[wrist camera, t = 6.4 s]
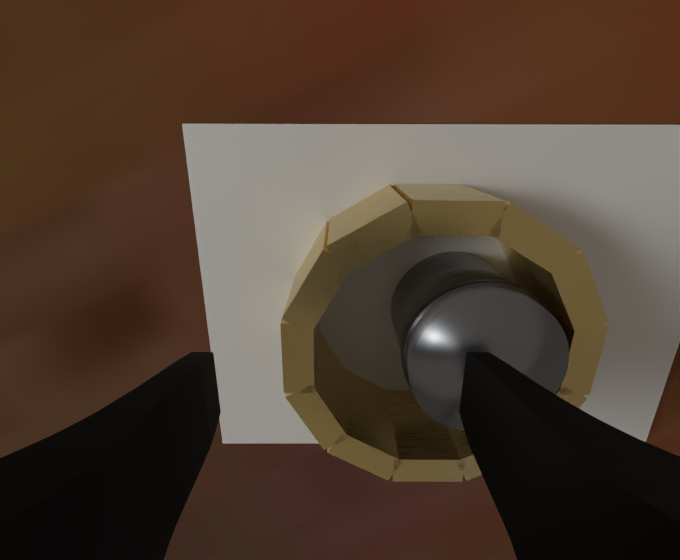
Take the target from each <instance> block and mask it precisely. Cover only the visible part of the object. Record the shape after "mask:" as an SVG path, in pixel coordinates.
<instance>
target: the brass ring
mask: <svg viewBox="0 0 680 560" xmlns="http://www.w3.org/2000/svg"><path fill="white" fill-rule="evenodd" d="M416 236H447V237H494V238H496V239H497V240H499V242H500V244H501V246H502V249H503V251H504V253H505V255H506V258H507V260H508V262H509V265H510V267H511V269H512V272H513V274H514V276H515V278H516V281H517V283H518V286H520V287H522V288H524V289H526V290H528V291H529V292H530V293H532V294H533V295H535V296H536V297H537V298H538V299H539V300H540V301H541V302H542V303H543V304H545V306H546V307H547V308H548V310H549V311H550V312H551V314H552V315H553V316H554V317H555V318H556V320H557V321H558V322H559V324H560V325H561V327H562V329H563V331H564V332H565V335H566V338H567V341H568V347H569V363H568V369H567V372H566V375H565V378H564V380H563V382H562V384H561V386H560V388H559V390H558V391H557V393H556V394H555V395H557V396H559V397H560V398H562V399H564V400H565V401H567V402H569V403H570V404H572V405H574V406H576V407H577V408H579V407H580V406H581V405H582V404H583V403H584V402H585V401H586V400H587V398H586V397H585V396H584V395H590V392H591V389H592V385H593V381H594V378H595V374H596V370H597V367H598V363H599V359H600V356H601V352H602V348H603V345H604V341H605V337H606V334H607V330H608V325H606V324H605V322H608V318H607V316H606V313H605V310H604V307H603V305H602V302H601V299H600V296H599V294H598V291H597V288H596V285H595V283H594V280H593V277H592V274H591V272H590V269H589V266H588V263H587V261H586V258H585V255H584V252H582V251H580V250H579V249H580V247H578V246H577V245H575V244H573V243H572V242H570V241H569V240H567V239H566V238H564V237H563V236H561V235H560V234H558V233H557V232H555V231H554V230H552V229H550V228H549V227H547V226H546V225H544V224H543V223H541V222H540V221H538V220H537V219H535V218H534V217H532V216H531V215H529V214H527V213H526V212H524V211H523V210H521V209H520V208H518V207H517V206H515V205H514V204H512V203H510V202H508V201H505V200H503V199H500V198H497V197H495V196H492V195H489V194H487V193H484V192H482V191H479V190H476V189H474V188H471V187H468V186H465V185H462V184H393V188H392V187H391V186H390V185H388V186H386V187H384V188H382V189H380V190H379V191H377V192H375V193H373V194H372V195H370V196H368V197H366V198H365V199H363V200H361V201H359V202H357V203H356V204H354V205H352V206H350V207H349V208H347V209H345V210H343V211H342V212H340V213H338V214H336V215H334V216H333V217H331V218H330V222H326V223H325V225H324V227H323V228H322V230H321V232H320V234H319V235H318V237H317V239H316V240H315V242H314V244H313V245H312V247H311V249H310V251H309V252H308V254H307V256H306V257H305V259H304V261H303V263H302V264H301V266H300V268H299V269H298V271H297V273H296V275H295V278H294V281H293V284H292V287H291V290H290V294H289V297H288V300H287V303H286V306H285V310H284V313H283V316H282V320H281V323H280V326H281V348H282V369H283V390H284V393H286V396H285V398H286V399H287V400H288V402H289V403H290V404H291V406H292V407H293V409H294V410H295V411H296V413H297V414H298V415H299V417H300V418H301V419H302V421H303V422H304V424H305V425H306V426H307V428H308V429H309V430H310V432H311V433H312V434H313V436H314V437H315V439H316V440H317V441H318V443H319V444H320V445H321V447H322V448H323V449H324V450H325V449H327V448H328V449H327V453H329V454H331V455H334V456H336V457H338V458H340V459H342V460H344V461H347V462H349V463H351V464H353V465H355V466H358V467H360V468H362V469H364V470H366V471H368V472H371V473H373V474H375V475H377V476H379V477H381V478H384V479H386V480H389V478H390V477H391V476H392V481H420V482H462V478H463V475H464V477H465V479H466V480H470V479H472V478H475V477H477V476H480V475H482V473H481V471H480V469H479V467H478V464H477V462H476V460H475V458H474V455H473V453H472V451H471V449H470V446H469V444H468V441H467V437H466V434H465V431H461V430H457V429H453V428H450V427H448V426H445V425H443V424H441V423H439V422H438V421H436V420H434V419H433V418H432V417H431V416H429V415H428V414H427V413H426V412H425V411H424V410H423V409H422V408H421V406H420V405H419V403H418V402H417V400H416V398H415V396H414V394H413V392H412V390H385V389H383V388H381V387H379V386H377V385H375V384H373V383H371V382H369V381H367V380H365V379H363V378H361V377H359V376H357V375H355V374H353V373H351V372H349V371H347V370H345V369H344V367H343V366H342V364H341V363H340V361H339V360H338V358H337V357H336V355H335V353H334V352H333V350H332V349H331V347H330V346H329V344H328V343H327V341H326V340H325V338H324V337H323V335H322V334H321V332H320V318H321V317H322V315H323V313H324V312H325V310H326V309H327V307H328V305H329V304H330V302H331V301H332V299H333V298H334V296H335V294H336V293H337V291H338V290H339V288H340V287H341V285H342V283H343V282H344V280H345V279H346V277H347V275H348V274H349V272H351V271H352V270H354V269H356V268H358V267H360V266H362V265H364V264H366V263H367V262H369V261H371V260H373V259H375V258H377V257H379V256H381V255H382V254H384V253H386V252H388V251H390V250H392V249H394V248H396V247H398V246H399V245H401V244H403V243H405V242H407V241H409V240H411V239H413V238H414V237H416Z"/></svg>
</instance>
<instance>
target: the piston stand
mask: <svg viewBox="0 0 680 560" xmlns="http://www.w3.org/2000/svg"><path fill="white" fill-rule="evenodd" d="M182 128H183V136H184V143H185V151H186V159H187V167H188V175H189V183H190V190H191V198H192V206H193V214H194V222H195V230H196V238H197V245H198V253H199V261H200V269H201V277H202V285H203V293H204V300H205V308H206V316H207V324H208V332H209V340H210V347H211V352H213V354H214V362H215V370H216V378H217V386H218V394H219V402H220V410H221V413H220V416H219V418H220V426H221V434H222V442H223V443H318V441H317V440H316V439H315V437H314V436H313V434H312V433H311V432H310V430H309V429H308V428H307V426H306V425H305V424H304V422H303V421H302V419H301V418H300V417H299V415H298V414H297V413H296V411H295V410H294V409H293V407H292V406H291V404H290V403H289V402H288V400H287V399H286V398H285V396H286V393H284V390H283V369H282V348H281V326H280V323H281V320H282V316H283V313H284V310H285V306H286V303H287V300H288V297H289V294H290V290H291V287H292V284H293V281H294V278H295V275H296V273H297V271H298V269H299V268H300V266H301V264H302V263H303V261H304V259H305V257H306V256H307V254H308V252H309V251H310V249H311V247H312V245H313V244H314V242H315V240H316V239H317V237H318V235H319V234H320V232H321V230H322V228H323V227H324V225H325V223H326V222H330V218H331V217H333V216H334V215H336V214H338V213H340V212H342V211H343V210H345V209H347V208H349V207H350V206H352V205H354V204H356V203H357V202H359V201H361V200H363V199H365V198H366V197H368V196H370V195H372V194H373V193H375V192H377V191H379V190H380V189H382V188H384V187H386V186H388V185H390V186H391V187H392V188H393V184H462V185H465V186H468V187H471V188H474V189H476V190H479V191H482V192H484V193H487V194H489V195H492V196H495V197H497V198H500V199H503V200H505V201H508V202H510V203H512V204H514V205H515V206H517V207H518V208H520V209H521V210H523V211H524V212H526V213H527V214H529V215H531V216H532V217H534V218H535V219H537V220H538V221H540V222H541V223H543V224H544V225H546V226H547V227H549V228H550V229H552V230H554V231H555V232H557V233H558V234H560V235H561V236H563V237H564V238H566V239H567V240H569V241H570V242H572V243H573V244H575V245H577V246H578V247H580V249H579V250H580V251H582V252H584V255H585V258H586V261H587V263H588V266H589V269H590V272H591V274H592V277H593V280H594V283H595V285H596V288H597V291H598V294H599V296H600V299H601V302H602V305H603V307H604V310H605V313H606V316H607V318H608V322H605V324H606V325H608V330H607V334H606V337H605V341H604V345H603V348H602V352H601V356H600V359H599V363H598V367H597V370H596V374H595V378H594V381H593V385H592V389H591V392H590V395H584V396H585V397H586V398H587V400H586V401H585V402H584V403H583V404H582V405H581V406H580V407H579V409H581V410H583V411H584V412H586V413H588V414H590V415H592V416H593V417H595V418H597V419H599V420H601V421H603V422H605V423H607V424H609V425H611V426H613V427H615V428H617V429H619V430H621V431H623V432H625V433H627V434H629V435H631V436H633V437H635V438H637V439H640V440H642V441H644V442H646V440H647V437H648V434H649V431H650V428H651V425H652V422H653V419H654V416H655V413H656V410H657V407H658V405H659V402H660V399H661V396H662V393H663V390H664V387H665V384H666V381H667V378H668V375H669V372H670V369H671V366H672V363H673V360H674V357H675V355H676V352H677V349H678V346H679V343H680V125H507V124H182ZM320 332H321V334H322V335H323V337H324V338H325V340H326V341H327V343H328V344H329V346H330V347H331V349H332V350H333V352H334V353H335V355H336V357H337V358H338V360H339V361H340V363H341V364H342V366H343V367H344V369H345V370H347V371H349V372H351V373H353V374H355V375H357V376H359V377H361V378H363V379H365V380H367V381H369V382H371V383H373V384H375V385H377V386H379V387H381V388H383V389H385V390H412V392H413V394H414V396H415V398H416V400H417V402H418V403H419V405H420V406H421V408H422V409H423V410H424V411H425V412H426V413H427V414H428V415H429V416H431V417H432V418H433V419H434V420H436V421H438V422H439V423H441V424H443V425H445V426H448V427H450V428H453V429H457V430H461V431H464V428H463V424H462V420H461V417H460V413H459V408H460V400H461V393H462V385H463V377H464V369H465V362H466V354H467V352H489V353H491V354H493V355H494V356H496V357H498V358H499V359H501V360H503V361H504V362H506V363H507V364H509V365H510V366H512V367H513V368H515V369H517V370H518V371H520V372H521V373H523V374H524V375H526V376H527V377H529V378H530V379H532V380H533V381H535V382H536V383H538V384H539V385H541V386H543V387H544V388H546V389H547V390H549V391H551V392H552V393H554V394H556V393H557V391H558V390H559V388H560V386H561V384H562V382H563V380H564V378H565V375H566V372H567V369H568V363H569V347H568V341H567V338H566V335H565V332H564V331H563V329H562V327H561V325H560V324H559V322H558V321H557V320H556V318H555V317H554V316H553V315H552V314H551V312H550V311H549V310H548V308H547V307H546V306H545V304H543V303H542V302H541V301H540V300H539V299H538V298H537V297H536V296H535V295H533V294H532V293H530V292H529V291H528V290H526V289H524V288H522V287H520V286H518V283H517V281H516V278H515V276H514V274H513V272H512V269H511V267H510V265H509V262H508V260H507V258H506V255H505V253H504V251H503V249H502V246H501V244H500V242H499V240H497V239H496V238H494V237H447V236H416V237H414V238H413V239H411V240H409V241H407V242H405V243H403V244H401V245H399V246H398V247H396V248H394V249H392V250H390V251H388V252H386V253H384V254H382V255H381V256H379V257H377V258H375V259H373V260H371V261H369V262H367V263H366V264H364V265H362V266H360V267H358V268H356V269H354V270H352V271H351V272H349V274H348V275H347V277H346V279H345V280H344V282H343V283H342V285H341V287H340V288H339V290H338V291H337V293H336V294H335V296H334V298H333V299H332V301H331V302H330V304H329V305H328V307H327V309H326V310H325V312H324V313H323V315H322V317H321V318H320Z"/></svg>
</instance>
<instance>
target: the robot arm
mask: <svg viewBox="0 0 680 560" xmlns="http://www.w3.org/2000/svg"><path fill="white" fill-rule="evenodd" d="M220 413H221V410H220V402H219V394H218V386H217V378H216V370H215V362H214V354H213V352H191V353H189V354H188V355H186V356H184V357H183V358H181V359H179V360H178V361H176V362H175V363H173V364H172V365H170V366H169V367H167V368H166V369H164V370H163V371H161V372H160V373H158V374H157V375H155V376H154V377H152V378H151V379H149V380H148V381H146V382H145V383H143V384H142V385H140V386H139V387H137V388H135V389H134V390H132V391H131V392H129V393H127V394H126V395H124V396H122V397H121V398H119V399H117V400H116V401H114V402H112V403H111V404H109V405H108V406H106V407H104V408H103V409H101V410H99V411H97V412H96V413H94V414H92V415H90V416H89V417H87V418H85V419H83V420H81V421H79V422H77V423H75V424H73V425H72V426H70V427H68V428H66V429H64V430H62V431H60V432H58V433H56V434H54V435H52V436H50V437H47V438H45V439H43V440H41V441H39V442H36V443H34V444H32V445H29V446H27V447H25V448H23V449H20V450H18V451H16V452H14V453H11V454H9V455H7V456H4V457H2V458H0V560H164V557H165V554H166V551H167V548H168V545H169V542H170V539H171V537H172V534H173V532H174V529H175V527H176V524H177V522H178V519H179V517H180V515H181V513H182V510H183V508H184V506H185V504H186V501H187V499H188V497H189V495H190V492H191V490H192V488H193V485H194V483H195V481H196V479H197V476H198V474H199V472H200V470H201V467H202V465H203V463H204V460H205V458H206V456H207V454H208V451H209V449H210V446H211V444H212V441H213V437H214V434H215V431H216V427H217V424H218V420H219V416H220ZM459 413H460V417H461V420H462V424H463V428H464V431H465V434H466V437H467V441H468V444H469V446H470V449H471V451H472V453H473V455H474V458H475V460H476V462H477V464H478V467H479V469H480V471H481V473H482V476H483V478H484V480H485V482H486V485H487V487H488V489H489V491H490V493H491V496H492V498H493V500H494V502H495V504H496V507H497V509H498V511H499V513H500V516H501V518H502V520H503V522H504V525H505V527H506V530H507V532H508V535H509V537H510V540H511V542H512V545H513V548H514V551H515V554H516V557H517V560H680V457H679V456H677V455H674V454H672V453H669V452H667V451H665V450H662V449H660V448H658V447H655V446H653V445H651V444H648V443H646V442H644V441H642V440H640V439H637V438H635V437H633V436H631V435H629V434H627V433H625V432H623V431H621V430H619V429H617V428H615V427H613V426H611V425H609V424H607V423H605V422H603V421H601V420H599V419H597V418H595V417H593V416H592V415H590V414H588V413H586V412H584V411H583V410H581V409H579V408H577V407H576V406H574V405H572V404H570V403H569V402H567V401H565V400H564V399H562V398H560V397H559V396H557V395H555V394H554V393H552V392H551V391H549V390H547V389H546V388H544V387H543V386H541V385H539V384H538V383H536V382H535V381H533V380H532V379H530V378H529V377H527V376H526V375H524V374H523V373H521V372H520V371H518V370H517V369H515V368H513V367H512V366H510V365H509V364H507V363H506V362H504V361H503V360H501V359H499V358H498V357H496V356H494V355H493V354H491V353H489V352H467V354H466V362H465V369H464V377H463V385H462V393H461V400H460V408H459Z"/></svg>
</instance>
